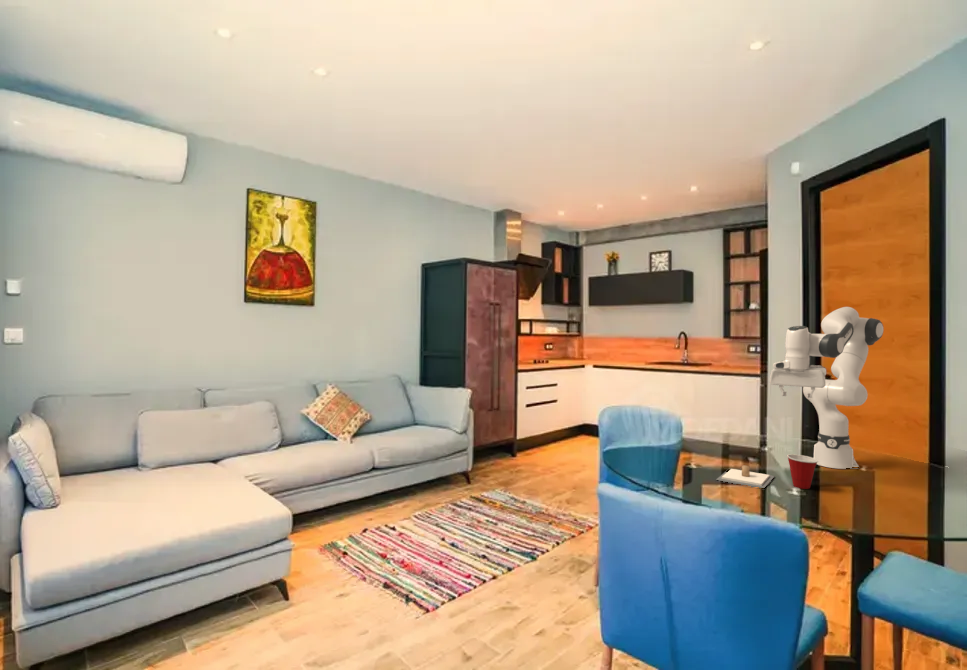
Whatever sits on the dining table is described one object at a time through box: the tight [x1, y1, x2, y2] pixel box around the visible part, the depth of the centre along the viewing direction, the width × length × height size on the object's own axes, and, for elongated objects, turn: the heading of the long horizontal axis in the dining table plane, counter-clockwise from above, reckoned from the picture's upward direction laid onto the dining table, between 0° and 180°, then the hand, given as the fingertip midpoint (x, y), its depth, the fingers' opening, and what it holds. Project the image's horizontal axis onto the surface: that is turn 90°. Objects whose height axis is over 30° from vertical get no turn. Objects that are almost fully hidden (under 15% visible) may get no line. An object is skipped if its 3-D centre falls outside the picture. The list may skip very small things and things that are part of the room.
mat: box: [715, 468, 776, 489], centre depth 217 cm, size 20×18×1 cm
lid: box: [722, 464, 770, 486], centre depth 217 cm, size 15×15×5 cm
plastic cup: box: [786, 453, 818, 490], centre depth 206 cm, size 11×11×12 cm
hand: (796, 396), depth 219 cm, fingers open, 8 cm apart
